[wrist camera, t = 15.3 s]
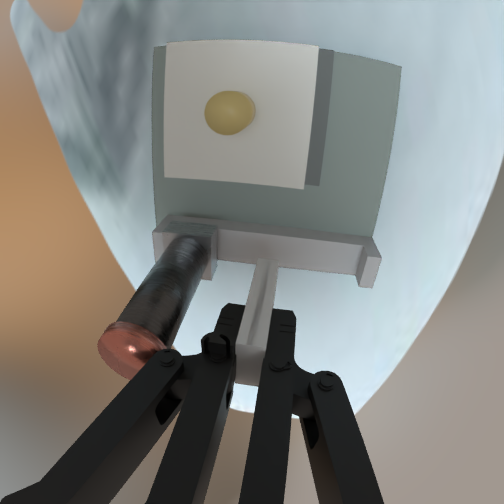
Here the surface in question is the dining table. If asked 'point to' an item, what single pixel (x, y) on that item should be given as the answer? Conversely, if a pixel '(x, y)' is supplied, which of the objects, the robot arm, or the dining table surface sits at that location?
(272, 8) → the dining table surface
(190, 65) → the housing
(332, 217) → the base plate
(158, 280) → the lever
